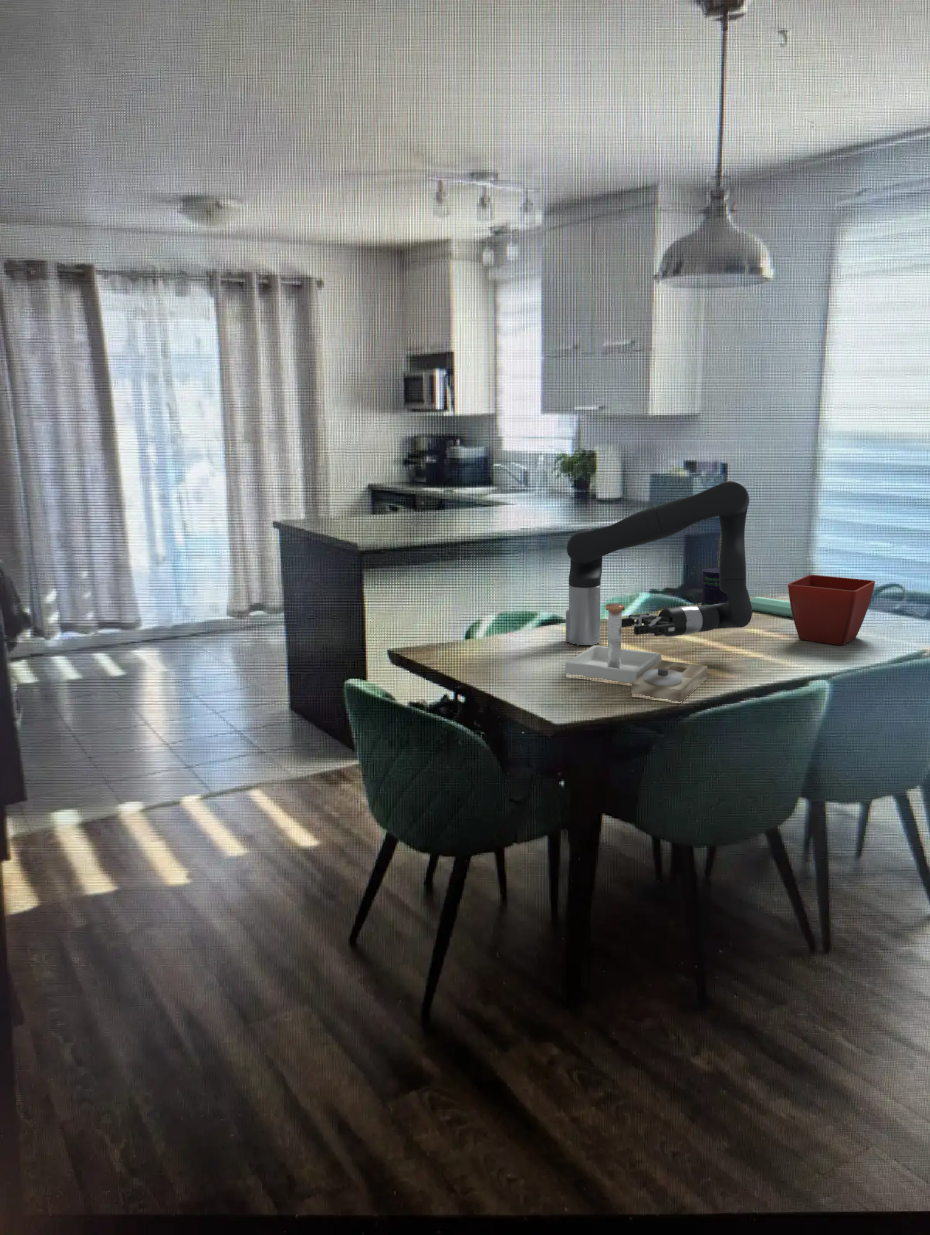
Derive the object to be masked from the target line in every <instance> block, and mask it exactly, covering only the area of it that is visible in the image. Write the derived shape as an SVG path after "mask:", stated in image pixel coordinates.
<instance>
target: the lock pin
mask: <svg viewBox="0 0 930 1235" xmlns="http://www.w3.org/2000/svg"><path fill="white" fill-rule="evenodd" d="M605 610H606V611H608V616H607V617H608V618H607V620H608V621H607V623H608V624H607V647H608V667H611V668H618V669H621V649H622V628H623V627H622V619H623V616H622V614H623V611H625V604H623V603H618V602H617V603H615V602H613V603H606V604H605Z"/></svg>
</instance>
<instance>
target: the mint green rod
mask: <svg viewBox="0 0 930 1235" xmlns="http://www.w3.org/2000/svg"><path fill="white" fill-rule="evenodd" d="M750 601H751V605H752V611H755V612H759V613H760V612H761V613H766V614H770V613H771V615H777V616H783V617H787V616H790V617H789V618H793V616H792V611H791V606H790V600H789V601H788V600H782V599H775V598H768V597H763V596H755V597H752V598H750Z"/></svg>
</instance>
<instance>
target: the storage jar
mask: <svg viewBox="0 0 930 1235" xmlns="http://www.w3.org/2000/svg"><path fill="white" fill-rule="evenodd" d="M701 577H702V579H701V581H702V583H701V585H702V597H701V603H700V605H714V604H720V603H727V602H729V601H728V596H727V594H726V593H724V592H722V591H721V590H720V586H719V566H718V567H717V566H716V567H705V568H703V569H702V576H701Z"/></svg>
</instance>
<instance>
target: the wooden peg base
mask: <svg viewBox="0 0 930 1235" xmlns="http://www.w3.org/2000/svg"><path fill="white" fill-rule="evenodd" d="M706 679H707V680H708V665H702V664H695V663H687V662H680V661H678V662H677V661H672V660H671V661H670V660H662V659H661V661H660V662H658V663H657V664H656V665H654V666H653V667H652V668H651V669H649V670H648V671H646V672H644V674H643V675H641V676H640V677H639V678H638V679H636V680H635V681H634V682H632V685H631V687H630V688H631V690H630V693H633V694H642V695H645V696H650V697H654V698H662V699H668V700H671V701H678V702H681V701H683V700H684V699H685V698H686V697H687V696H688V695H689V694H690V693H691V692H692V691H694V689H695V688H696V687H697V686H698V685H699V684H701V683H702V682H703V681H705V680H706ZM707 680H706V681H707ZM703 683H704V682H703ZM703 683H702V684H703ZM702 684H701V685H702ZM694 692H695V691H694ZM686 699H687V698H686ZM686 699H685V700H686ZM685 700H684V701H685ZM684 701H683V702H684Z"/></svg>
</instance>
